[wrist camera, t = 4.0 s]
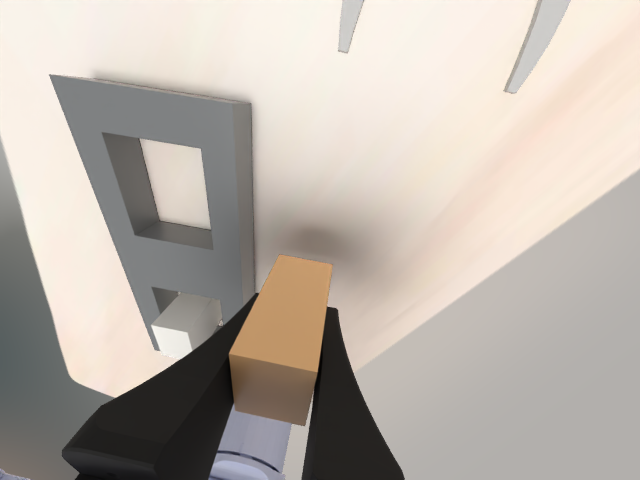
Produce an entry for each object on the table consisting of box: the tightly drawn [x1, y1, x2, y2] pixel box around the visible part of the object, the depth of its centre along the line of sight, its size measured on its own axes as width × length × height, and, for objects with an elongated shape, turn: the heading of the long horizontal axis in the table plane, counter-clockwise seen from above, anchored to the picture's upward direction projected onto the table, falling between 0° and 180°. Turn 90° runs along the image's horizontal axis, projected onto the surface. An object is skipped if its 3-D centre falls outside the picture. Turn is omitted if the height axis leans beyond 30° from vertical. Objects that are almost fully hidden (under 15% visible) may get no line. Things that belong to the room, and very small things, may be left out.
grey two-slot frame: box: [49, 74, 255, 351], centre depth 19 cm, size 24×10×2 cm, turn 172°
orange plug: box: [229, 254, 333, 426], centre depth 11 cm, size 4×3×6 cm
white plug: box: [151, 292, 222, 359], centre depth 21 cm, size 4×3×5 cm
